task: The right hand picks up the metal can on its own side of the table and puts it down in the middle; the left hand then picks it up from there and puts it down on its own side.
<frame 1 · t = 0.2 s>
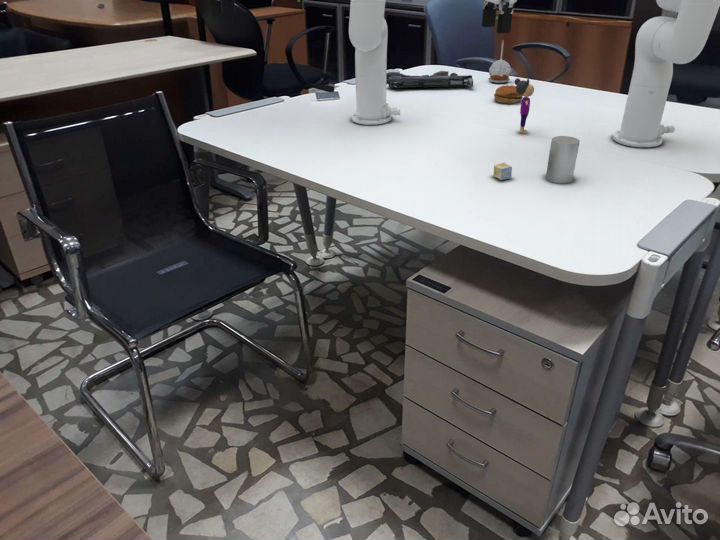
left hand: (224, 13, 172), 31 cm above the table, tool pointing down, fingers open, 9 cm apart
right hand: (495, 29, 135), 31 cm above the table, tool pointing down, fingers open, 9 cm apart
candy apple: (498, 82, 220), on the table
can: (559, 178, 136), on the table
alphabet block: (501, 178, 137), on the table
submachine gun: (427, 84, 220), on the table
toy: (518, 132, 166), on the table
burger: (507, 101, 196), on the table
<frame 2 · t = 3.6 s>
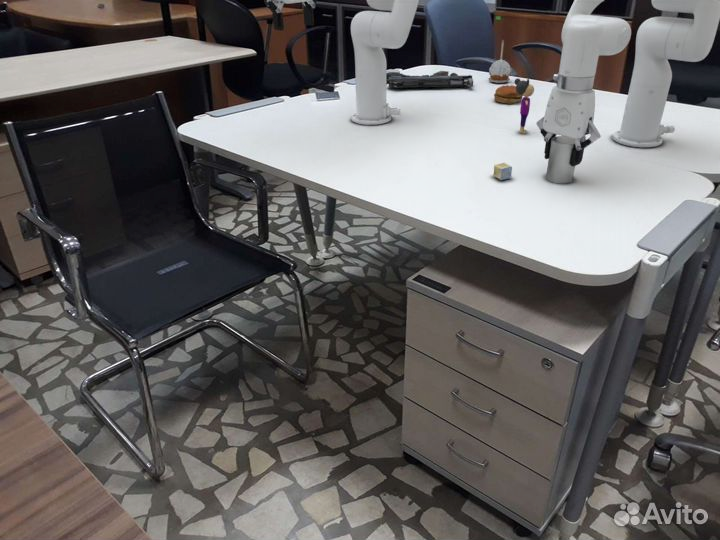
left hand: (294, 27, 143), 31 cm above the table, tool pointing down, fingers open, 9 cm apart
right hand: (562, 160, 134), 5 cm above the table, tool pointing down, fingers closed on can, 6 cm apart
can: (559, 178, 136), on the table, touching right hand
everything else where it was.
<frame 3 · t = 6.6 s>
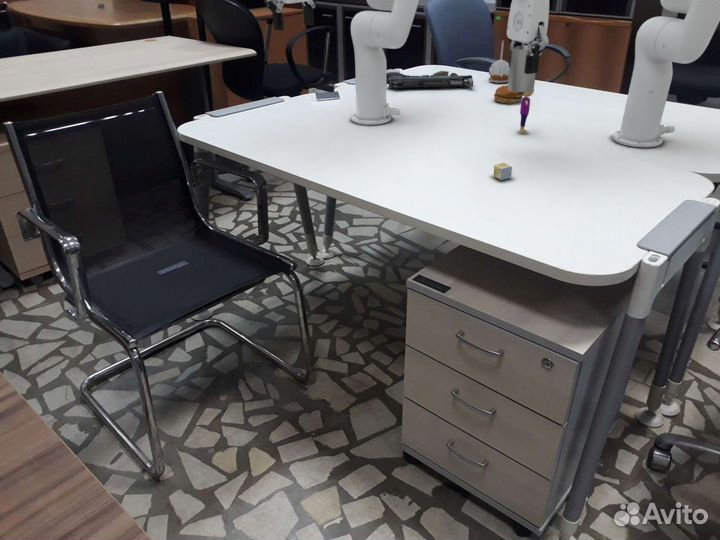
left hand: (294, 27, 143), 31 cm above the table, tool pointing down, fingers open, 9 cm apart
right hand: (523, 69, 136), 22 cm above the table, tool pointing down, fingers closed on can, 6 cm apart
can: (520, 89, 139), point 18 cm above the table, touching right hand
everything else where it was.
when the right hand's fingers open (6 cm above the table, at t = 9.5 s): can drops 2 cm, on the table.
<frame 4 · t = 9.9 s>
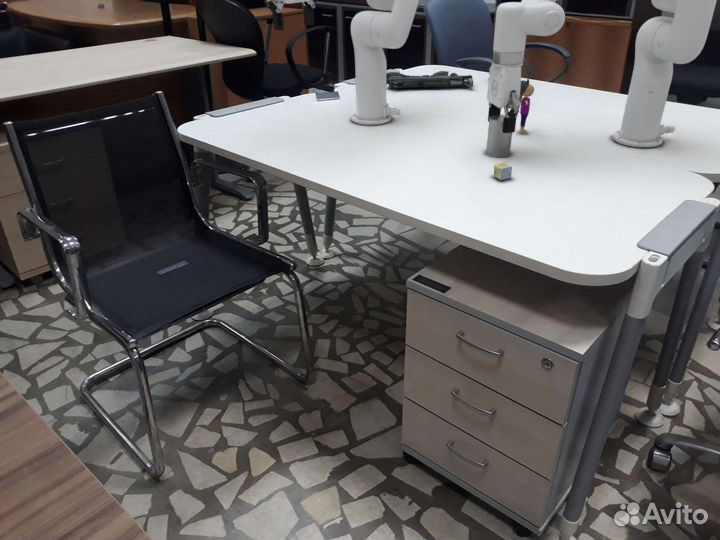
left hand: (294, 27, 143), 31 cm above the table, tool pointing down, fingers open, 9 cm apart
right hand: (500, 126, 148), 7 cm above the table, tool pointing down, fingers open, 9 cm apart
can: (497, 153, 152), on the table
everything else where it was.
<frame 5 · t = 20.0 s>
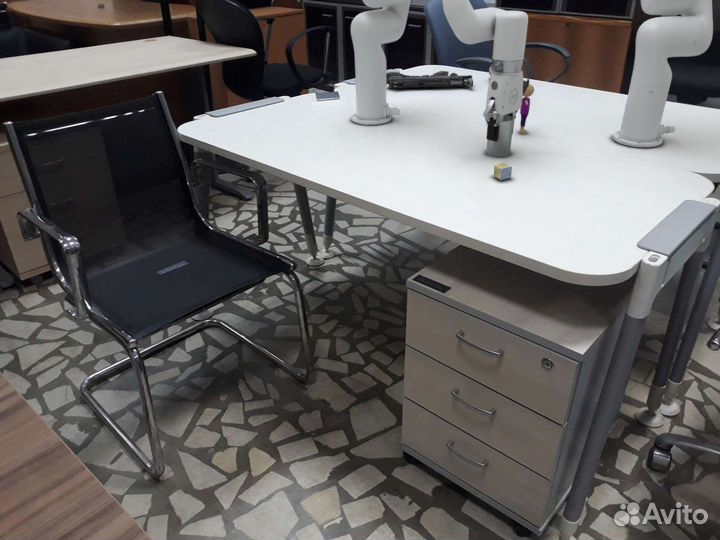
left hand: (499, 136, 150), 5 cm above the table, tool pointing down, fingers closed on can, 6 cm apart
can: (498, 153, 152), on the table, touching left hand
everything else where it was.
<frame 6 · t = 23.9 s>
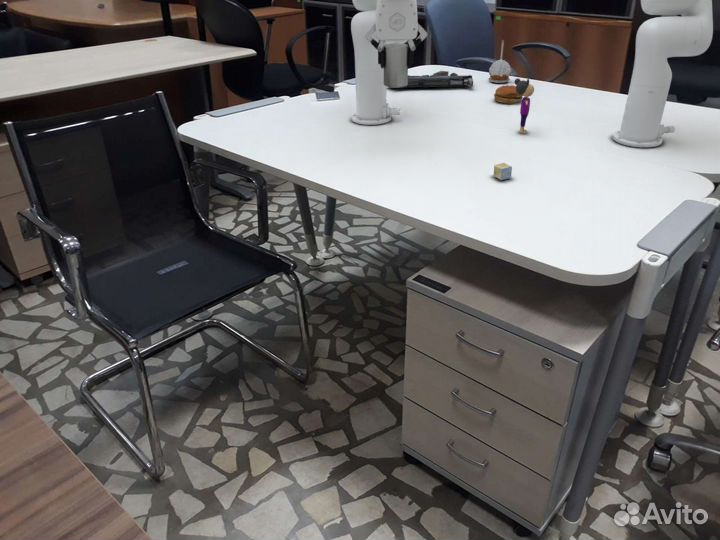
left hand: (395, 66, 145), 22 cm above the table, tool pointing down, fingers closed on can, 6 cm apart
can: (395, 84, 147), point 18 cm above the table, touching left hand
everything else where it was.
when the left hand's fingers open (6 cm above the table, at t = 27.9 s): can drops 2 cm, on the table.
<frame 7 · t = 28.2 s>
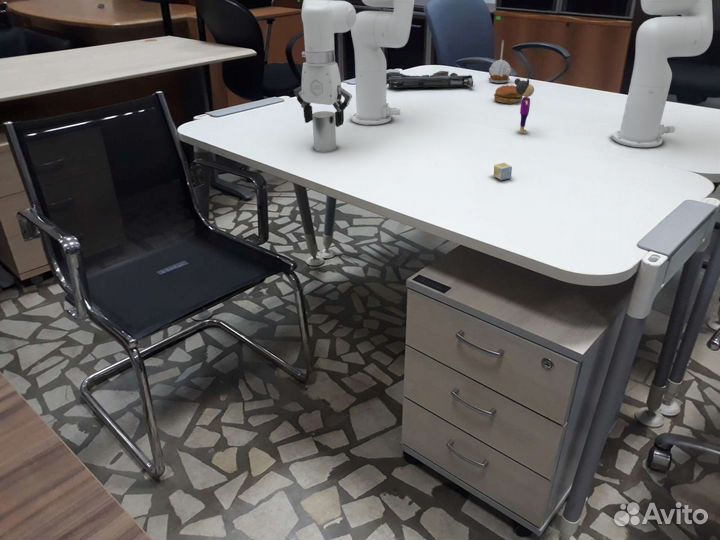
left hand: (324, 123, 155), 7 cm above the table, tool pointing down, fingers open, 9 cm apart
can: (325, 148, 159), on the table
everything else where it was.
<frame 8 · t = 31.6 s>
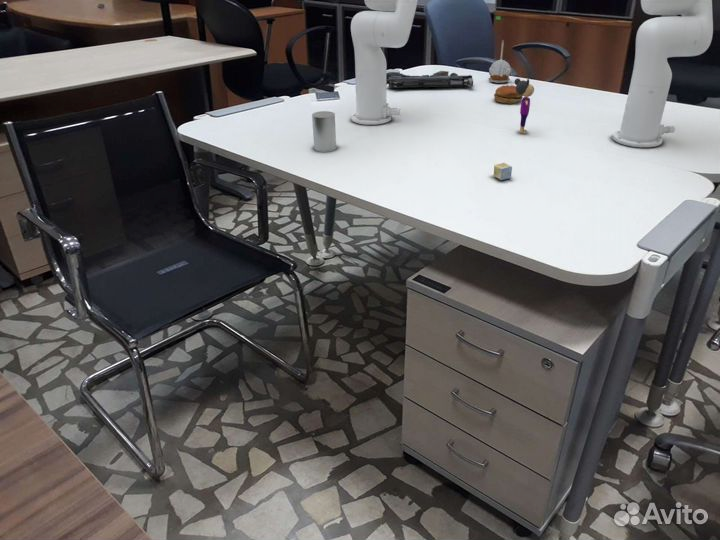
left hand: (317, 2, 140), 37 cm above the table, tool pointing down, fingers open, 9 cm apart
nothing on the table moved.
at the end: can inside the target area (0.0 cm from its centre), on the table; can tilted 0°; the two hands never held the can at the same time; the left hand is holding nothing; the right hand is holding nothing; can at rest at the end (0.0 cm/s) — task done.
